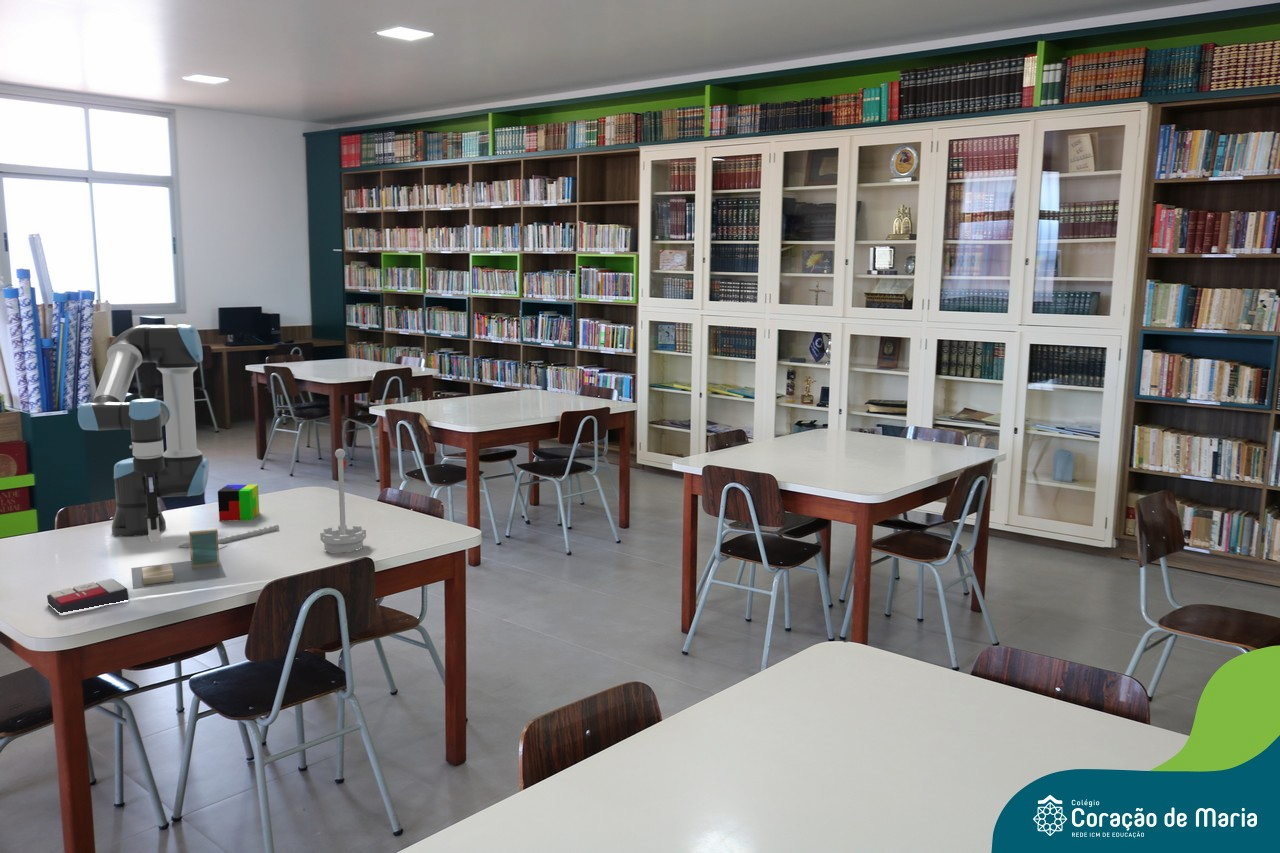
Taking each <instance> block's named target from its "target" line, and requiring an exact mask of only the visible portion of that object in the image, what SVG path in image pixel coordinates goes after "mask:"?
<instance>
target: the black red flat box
mask: <svg viewBox="0 0 1280 853" xmlns="http://www.w3.org/2000/svg"><path fill="white" fill-rule="evenodd" d="M46 597H47V604H48V603H49V604H50V605H51V606H52V607H53V608H55V609H56V610H57V611H58V612H60V613H63V612H68V611H73V610H79V609H84V608H89V607H94V606H99V605H104V604H109V603H116V602H120V601H124V600H128V599H129V590H128V588H127V587H125V586H124V585H123V584H121V583H120V582H119V581H117V580H116V579H114V578H109V579H108V578H107V579H104V580H100V581H96V582H94V581H93V582H88V583H85V584H84V583H83V584H79V585H76V586H73V587H72V588H71V587H68V588H65V589H59V590H56V591H51V592H49V594H47V595H46ZM129 600H130V599H129Z"/></svg>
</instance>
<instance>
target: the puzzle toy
mask: <svg viewBox="0 0 1280 853" xmlns="http://www.w3.org/2000/svg"><path fill="white" fill-rule="evenodd" d="M259 495H260V494H259V484H257V483H256V484H226V485H225V486H223V487H222V488H220V489H219V490H218V491H217V504H218V520H219V522H223V521H222V520H224V522H225V521H228V522H229V520H238V521H252V520H253V519H254V518H255V517H257V515H259V514H260V499H259V498H260V497H259Z"/></svg>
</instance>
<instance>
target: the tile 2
mask: <svg viewBox="0 0 1280 853" xmlns="http://www.w3.org/2000/svg"><path fill="white" fill-rule="evenodd" d="M188 533H189V534H188V536H189V537H188V538H189V542H190V547H189V550H190V552H189V553H190V561H191V568H200V567H208V566H216V565H219V560H220V551H219V550H220V549H219V548H218V539H219V535H218V528H209V529H201V530H191V531H188Z"/></svg>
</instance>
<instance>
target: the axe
mask: <svg viewBox="0 0 1280 853" xmlns="http://www.w3.org/2000/svg"><path fill="white" fill-rule="evenodd" d="M278 531H280V526H279V524H277V523H275V524H272V525H271V526H270V525H269V526H267V527H262V528H258V529H253V530H251V531H250V530H248V531H245V532H241V533H236V534H231V535H229V536H228V535H227V536H224V537H218V548H219V550H220V549H223V548H225V547H227V546H228V544H226V543H227V542H228V543H231V542H235V541H240V540H242V539H243V540H244V539H246V538H251V537H254V536H258V535H263V534H267V533H271V532H278ZM230 541H231V542H230ZM223 543H224V544H223ZM178 547H179V548H180V547H181V548H183V547H185V548H190V541H186V542H183V543H181V544H179V545H178Z"/></svg>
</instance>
